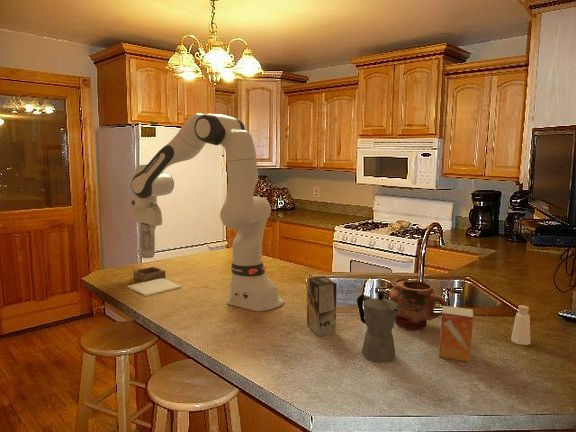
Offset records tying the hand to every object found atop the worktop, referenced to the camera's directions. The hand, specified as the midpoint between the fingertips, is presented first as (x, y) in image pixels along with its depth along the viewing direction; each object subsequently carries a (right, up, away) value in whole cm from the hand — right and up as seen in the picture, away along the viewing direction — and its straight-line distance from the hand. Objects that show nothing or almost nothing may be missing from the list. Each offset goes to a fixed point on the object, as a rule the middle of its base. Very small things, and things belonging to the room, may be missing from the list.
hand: (148, 233), depth 191 cm
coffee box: (+72, -29, -52) cm, 93 cm away
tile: (+6, -22, -10) cm, 25 cm away
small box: (+108, -31, -69) cm, 132 cm away
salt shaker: (+131, -30, -60) cm, 147 cm away
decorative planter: (+103, -28, -49) cm, 117 cm away
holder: (0, -20, +3) cm, 20 cm away
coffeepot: (+86, -31, -68) cm, 114 cm away
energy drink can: (-1, -11, +2) cm, 11 cm away
